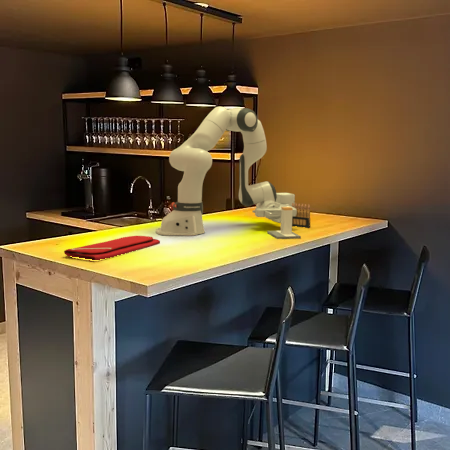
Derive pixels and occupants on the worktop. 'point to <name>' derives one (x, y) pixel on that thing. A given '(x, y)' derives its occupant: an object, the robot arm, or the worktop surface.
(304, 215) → the ammunition clip
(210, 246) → the worktop surface
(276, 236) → the board
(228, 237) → the worktop surface
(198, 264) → the worktop surface
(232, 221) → the worktop surface
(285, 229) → the orange-capped beige pillar
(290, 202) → the supplement box
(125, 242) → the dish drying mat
